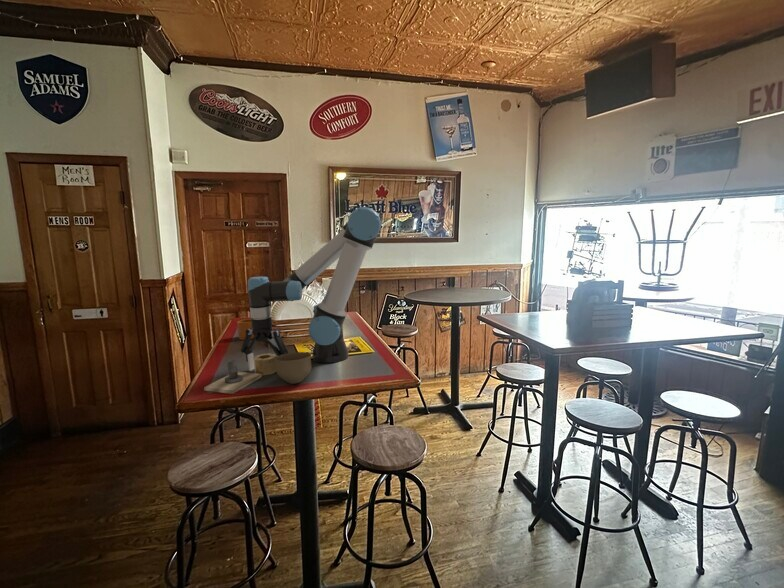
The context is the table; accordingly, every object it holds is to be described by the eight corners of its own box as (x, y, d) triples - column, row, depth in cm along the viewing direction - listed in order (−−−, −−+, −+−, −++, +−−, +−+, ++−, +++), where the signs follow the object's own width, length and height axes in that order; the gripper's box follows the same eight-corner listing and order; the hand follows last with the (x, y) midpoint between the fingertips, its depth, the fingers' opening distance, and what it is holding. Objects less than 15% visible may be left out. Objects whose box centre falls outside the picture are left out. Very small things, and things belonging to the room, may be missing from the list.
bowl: (310, 373, 156) (308, 348, 154) (315, 385, 144) (313, 357, 142) (276, 378, 152) (273, 352, 150) (278, 390, 140) (275, 362, 138)
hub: (261, 377, 154) (259, 356, 152) (232, 393, 139) (230, 370, 137) (235, 374, 158) (233, 353, 156) (204, 390, 143) (201, 368, 141)
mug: (251, 341, 203) (249, 324, 202) (235, 339, 209) (233, 322, 208) (265, 336, 211) (263, 319, 209) (249, 334, 217) (247, 318, 215)
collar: (280, 368, 162) (279, 354, 161) (268, 376, 154) (267, 360, 153) (263, 367, 164) (262, 352, 163) (251, 374, 157) (249, 359, 156)
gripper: (294, 316, 155) (298, 370, 159) (240, 314, 163) (245, 365, 167) (283, 321, 148) (287, 377, 152) (227, 318, 156) (233, 371, 160)
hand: (265, 371), depth 159 cm, fingers open, 12 cm apart
